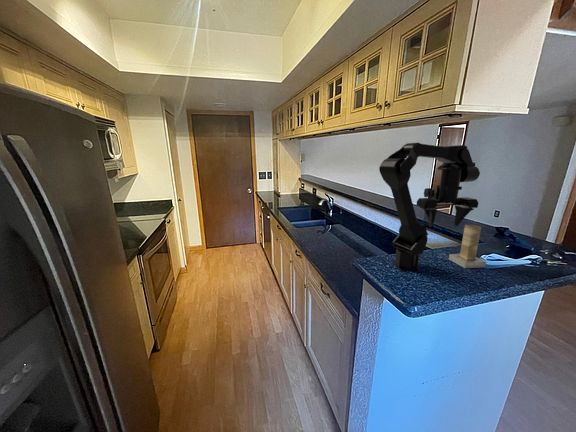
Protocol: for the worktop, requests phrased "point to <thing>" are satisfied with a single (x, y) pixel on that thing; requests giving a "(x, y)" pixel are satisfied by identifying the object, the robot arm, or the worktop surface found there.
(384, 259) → the worktop surface
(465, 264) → the socket plate
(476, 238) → the pin
